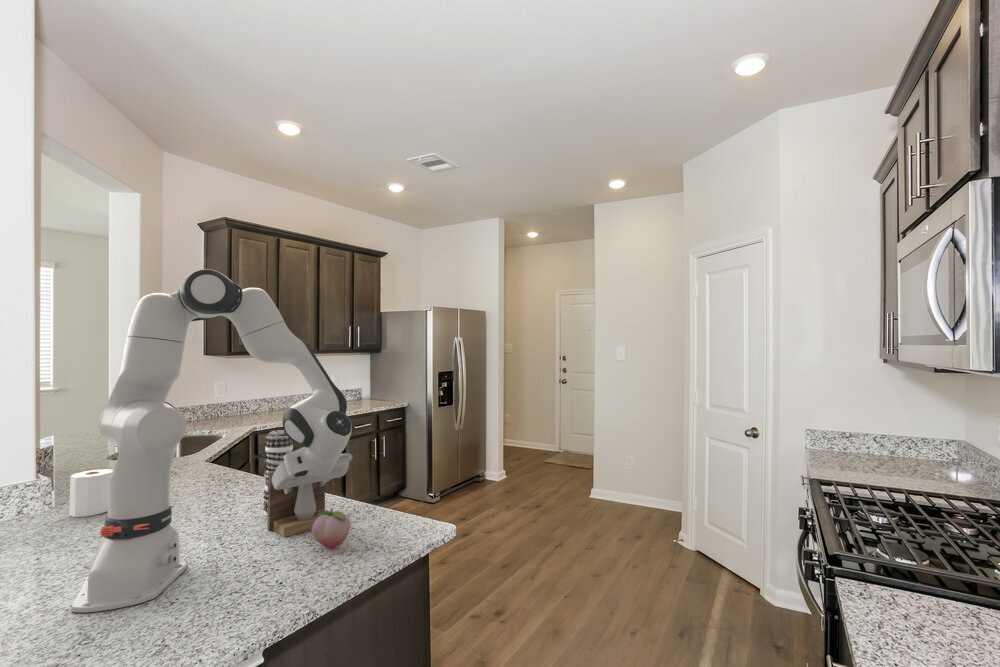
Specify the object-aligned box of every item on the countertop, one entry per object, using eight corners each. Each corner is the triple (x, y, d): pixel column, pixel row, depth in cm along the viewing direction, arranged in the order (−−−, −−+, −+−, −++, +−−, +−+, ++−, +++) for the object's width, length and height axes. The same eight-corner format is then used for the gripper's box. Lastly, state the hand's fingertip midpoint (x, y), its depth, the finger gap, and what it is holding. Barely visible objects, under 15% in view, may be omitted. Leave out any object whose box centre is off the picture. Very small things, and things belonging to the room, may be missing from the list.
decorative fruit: (357, 543, 124) (357, 504, 124) (338, 556, 116) (338, 515, 116) (326, 539, 127) (326, 501, 127) (305, 552, 119) (306, 511, 119)
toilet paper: (69, 511, 150) (70, 472, 151) (111, 504, 157) (112, 467, 158) (69, 519, 143) (70, 479, 143) (113, 511, 150) (114, 473, 150)
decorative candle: (254, 515, 145) (256, 433, 146) (276, 506, 154) (276, 428, 155) (280, 518, 143) (281, 434, 144) (300, 508, 152) (301, 429, 153)
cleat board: (336, 522, 139) (336, 467, 140) (280, 538, 128) (280, 477, 128) (322, 515, 145) (322, 462, 146) (267, 529, 134) (268, 472, 134)
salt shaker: (319, 514, 138) (320, 469, 139) (309, 521, 133) (310, 474, 133) (300, 514, 139) (300, 469, 139) (289, 521, 133) (290, 474, 134)
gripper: (350, 444, 139) (334, 471, 146) (278, 455, 124) (264, 485, 131) (358, 461, 136) (341, 489, 142) (285, 475, 121) (270, 505, 128)
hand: (303, 487), depth 136 cm, fingers open, 8 cm apart
